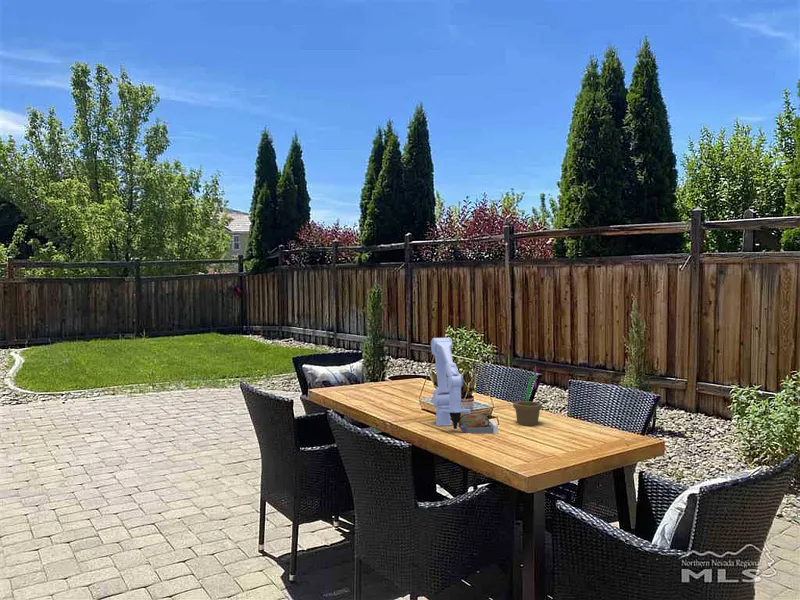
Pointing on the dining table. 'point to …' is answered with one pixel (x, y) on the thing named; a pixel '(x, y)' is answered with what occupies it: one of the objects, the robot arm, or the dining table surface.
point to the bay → (485, 429)
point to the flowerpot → (528, 409)
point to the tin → (473, 422)
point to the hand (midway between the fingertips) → (455, 428)
